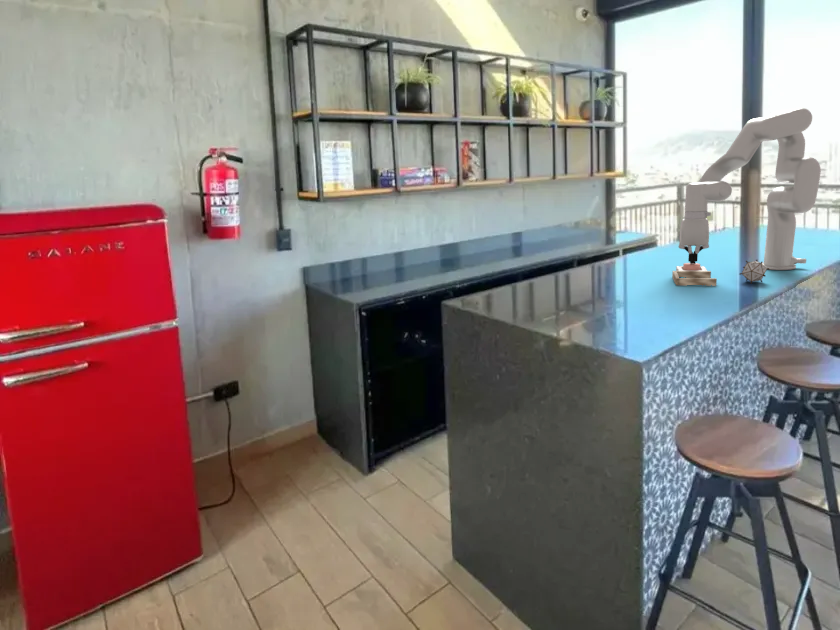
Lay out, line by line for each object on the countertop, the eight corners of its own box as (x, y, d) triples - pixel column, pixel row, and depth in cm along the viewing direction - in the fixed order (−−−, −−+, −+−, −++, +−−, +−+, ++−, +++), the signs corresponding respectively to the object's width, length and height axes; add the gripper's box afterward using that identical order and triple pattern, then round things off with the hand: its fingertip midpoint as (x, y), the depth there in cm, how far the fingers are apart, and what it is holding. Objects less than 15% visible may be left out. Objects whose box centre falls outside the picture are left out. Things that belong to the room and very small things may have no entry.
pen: (710, 277, 220) (710, 271, 219) (716, 285, 206) (716, 279, 205) (672, 277, 224) (672, 270, 224) (675, 285, 210) (676, 278, 209)
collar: (703, 272, 230) (704, 266, 229) (707, 277, 221) (707, 270, 220) (676, 272, 233) (676, 266, 232) (678, 277, 224) (678, 270, 223)
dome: (698, 270, 228) (699, 262, 227) (700, 273, 223) (701, 265, 222) (682, 270, 230) (682, 262, 229) (683, 273, 225) (684, 265, 224)
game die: (758, 293, 208) (775, 273, 201) (734, 284, 209) (751, 265, 202) (756, 276, 214) (773, 257, 206) (734, 269, 215) (749, 249, 207)
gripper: (715, 214, 222) (712, 261, 227) (673, 215, 227) (671, 261, 231) (718, 216, 215) (715, 265, 220) (674, 217, 220) (672, 265, 225)
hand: (692, 263), depth 226 cm, fingers closed
